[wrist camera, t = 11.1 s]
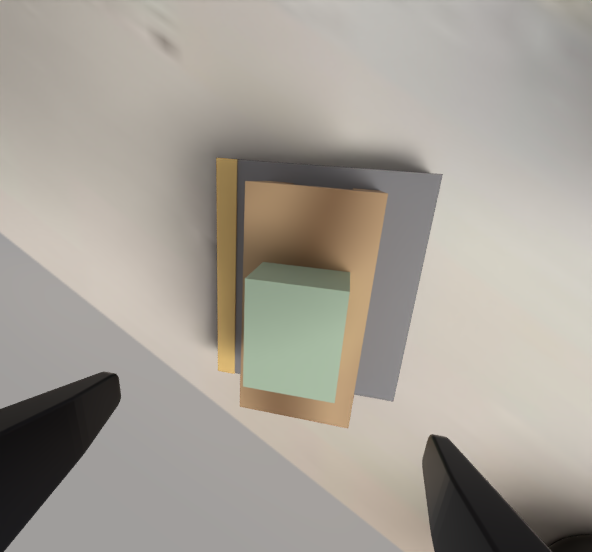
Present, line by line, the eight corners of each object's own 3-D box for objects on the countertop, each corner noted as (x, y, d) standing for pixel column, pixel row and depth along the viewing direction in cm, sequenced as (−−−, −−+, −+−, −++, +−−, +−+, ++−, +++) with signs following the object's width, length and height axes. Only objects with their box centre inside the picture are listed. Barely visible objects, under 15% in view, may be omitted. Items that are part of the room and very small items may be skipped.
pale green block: (350, 272, 13) (349, 291, 11) (337, 368, 15) (334, 403, 13) (262, 261, 14) (245, 278, 12) (259, 355, 15) (242, 386, 13)
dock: (432, 175, 17) (443, 174, 15) (389, 382, 21) (393, 402, 19) (230, 160, 19) (216, 157, 17) (229, 354, 23) (218, 370, 21)
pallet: (379, 190, 16) (388, 193, 12) (348, 380, 20) (348, 428, 16) (269, 180, 17) (245, 181, 13) (260, 365, 20) (239, 406, 17)
